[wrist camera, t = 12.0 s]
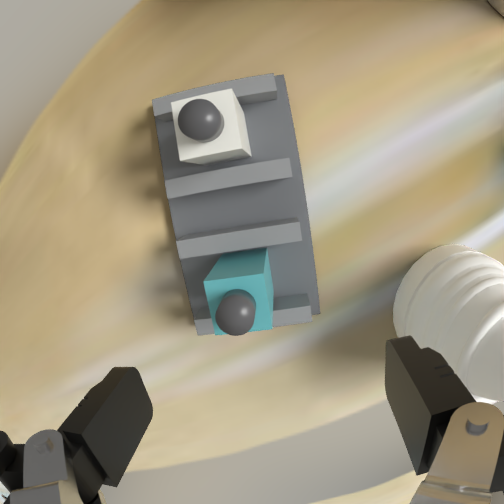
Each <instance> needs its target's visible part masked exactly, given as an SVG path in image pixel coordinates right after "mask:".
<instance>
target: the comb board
mask: <svg viewBox="0 0 504 504" xmlns="http://www.w3.org/2000/svg"><path fill="white" fill-rule="evenodd" d="M226 89H232V90H233V92H234V94H235V96H236V98H237V100H238V102H239V104H240V106H241V108H242V110H243V112H244V116H245V122H246V127H247V133H248V139H249V144H250V150H251V156H252V157H248V158H243V159H237V160H232V161H226V162H221V163H216V164H211V165H201V164H196V163H190V162H184V161H180V158H179V152H178V145H177V139H176V133H175V126H174V120H173V113H172V106H171V102H175V101H178V100H182V99H186V98H190V97H195V96H199V95H203V94H208V93H212V92H217V91H222V90H226ZM152 103H153V111H154V116H155V122H156V129H157V136H158V142H159V149H160V155H161V161H162V167H163V173H164V179H165V181H164V182H165V187H166V193H167V198H168V201H169V207H170V212H171V217H172V222H173V227H174V232H175V237H176V244H177V249H178V254H179V258H180V261H181V265H182V270H183V274H184V279H185V283H186V288H187V292H188V296H189V300H190V304H191V309H192V313H193V317H194V322H195V326H196V330H197V334H198V335H207V334H215V332H214V327H213V323H212V319H211V314H210V310H209V305H208V301H207V296H206V292H205V287H204V282H203V281H204V280H205V278H206V277H207V275H208V274H209V273H210V271H211V270H212V268H213V267H214V265H215V264H216V262H217V261H218V260H219V258H220V257H221V255H222V254H225V253H232V252H239V251H245V250H252V249H259V248H266V247H267V251H268V257H269V264H270V270H271V277H272V283H273V290H274V292H273V325H272V327H278V326H286V325H293V324H300V323H307V322H312V315H316V314H320V306H319V296H318V287H317V278H316V270H315V262H314V254H313V246H312V238H311V231H310V224H309V217H308V210H307V203H306V196H305V190H304V183H303V177H302V171H301V165H300V159H299V153H298V147H297V141H296V136H295V130H294V125H293V120H292V114H291V109H290V104H289V99H288V94H287V89H286V84H285V79H284V75H277V76H274V73H272V74H265V75H259V76H253V77H247V78H241V79H236V80H231V81H226V82H221V83H216V84H212V85H207V86H203V87H198V88H194V89H190V90H186V91H182V92H178V93H174V94H171V95H167V96H163V97H160V98H156V99H153V100H152Z"/></svg>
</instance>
